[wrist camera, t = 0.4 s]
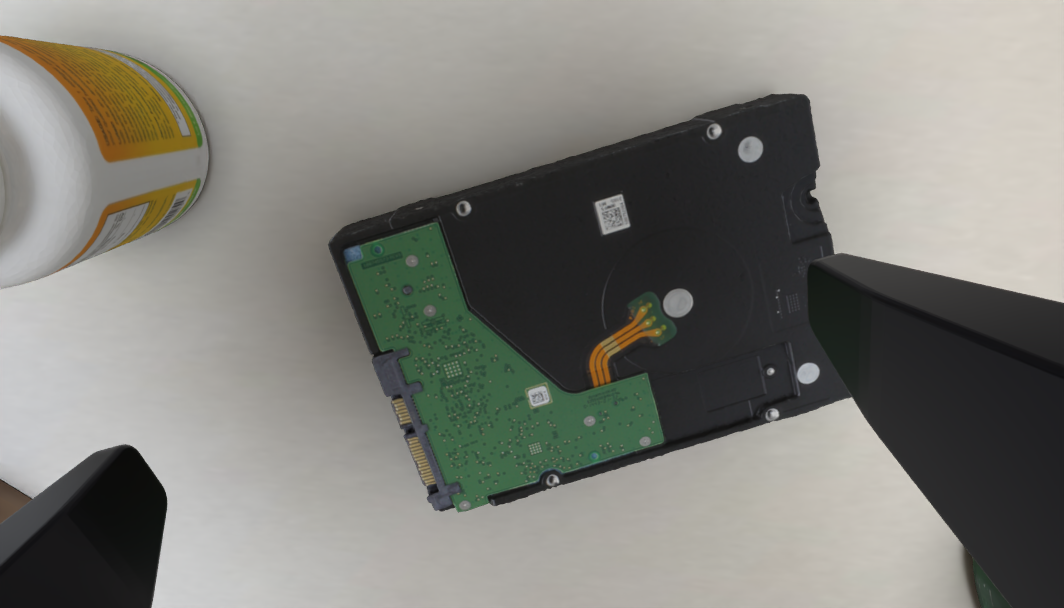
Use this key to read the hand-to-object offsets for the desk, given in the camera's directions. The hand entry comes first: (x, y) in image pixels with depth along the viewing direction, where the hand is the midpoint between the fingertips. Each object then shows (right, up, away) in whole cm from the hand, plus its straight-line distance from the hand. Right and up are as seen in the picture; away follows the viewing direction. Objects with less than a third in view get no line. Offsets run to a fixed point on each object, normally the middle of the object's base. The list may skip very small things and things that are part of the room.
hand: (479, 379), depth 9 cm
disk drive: (+3, +1, +15) cm, 15 cm away
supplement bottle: (-12, +6, +12) cm, 18 cm away
